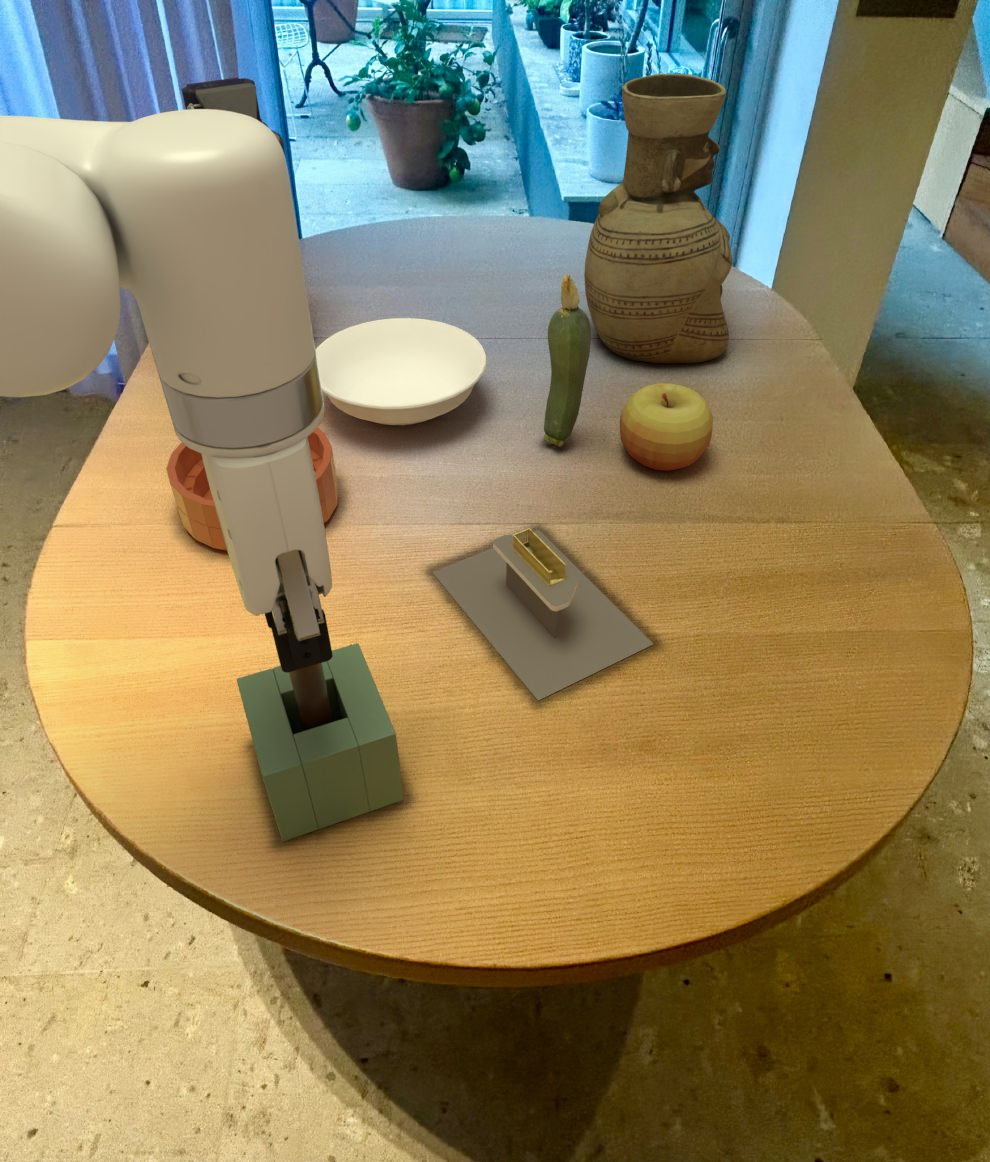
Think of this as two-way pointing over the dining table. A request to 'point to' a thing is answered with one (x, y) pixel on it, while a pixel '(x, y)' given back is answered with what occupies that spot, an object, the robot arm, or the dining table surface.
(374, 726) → the stand
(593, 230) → the ceramic vessel
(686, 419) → the apple
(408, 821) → the dining table surface
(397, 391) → the bowl
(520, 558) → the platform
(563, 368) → the vegetable
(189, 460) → the mixing bowl
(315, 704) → the stick
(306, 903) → the dining table surface
